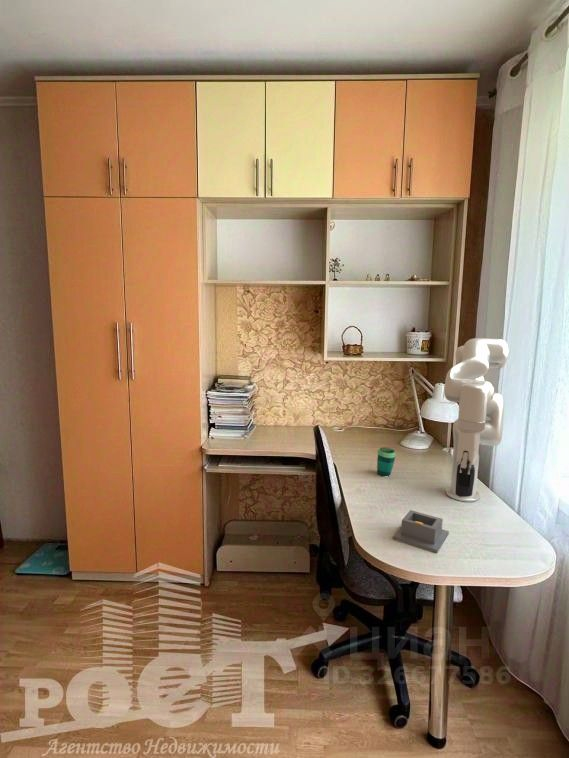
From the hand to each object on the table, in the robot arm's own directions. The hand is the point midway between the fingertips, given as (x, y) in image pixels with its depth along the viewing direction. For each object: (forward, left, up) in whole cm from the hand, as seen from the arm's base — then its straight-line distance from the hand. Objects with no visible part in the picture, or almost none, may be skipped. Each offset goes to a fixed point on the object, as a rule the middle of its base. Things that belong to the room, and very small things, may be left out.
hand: (466, 482), depth 132 cm
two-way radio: (0, 0, -5) cm, 5 cm away
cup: (-42, -41, -21) cm, 63 cm away
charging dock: (+2, -12, -21) cm, 24 cm away
